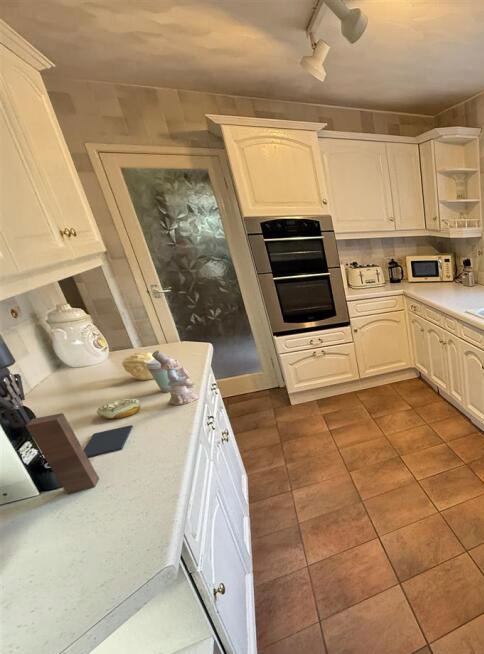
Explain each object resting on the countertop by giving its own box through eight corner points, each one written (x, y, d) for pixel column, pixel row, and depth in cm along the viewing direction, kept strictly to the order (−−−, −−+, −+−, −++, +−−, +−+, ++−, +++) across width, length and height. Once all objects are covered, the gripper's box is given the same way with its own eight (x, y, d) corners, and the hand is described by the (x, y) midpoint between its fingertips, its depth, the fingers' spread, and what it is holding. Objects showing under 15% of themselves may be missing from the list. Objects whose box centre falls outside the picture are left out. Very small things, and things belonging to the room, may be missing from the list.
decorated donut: (110, 423, 127) (105, 413, 125) (94, 417, 131) (88, 407, 129) (148, 409, 135) (144, 399, 134) (131, 404, 139) (127, 394, 138)
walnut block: (95, 486, 97) (57, 419, 89) (66, 494, 94) (25, 425, 87) (99, 478, 100) (62, 412, 92) (72, 485, 97) (32, 418, 90)
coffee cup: (176, 383, 156) (164, 355, 151) (190, 386, 153) (178, 357, 148) (151, 392, 149) (138, 362, 144) (166, 395, 146) (153, 365, 141)
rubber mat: (122, 449, 112) (121, 447, 112) (78, 459, 108) (77, 458, 108) (133, 426, 125) (132, 424, 124) (94, 435, 120) (93, 433, 120)
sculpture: (124, 383, 158) (112, 357, 154) (149, 371, 169) (139, 348, 164) (152, 382, 158) (142, 357, 153) (176, 371, 169) (166, 347, 164)
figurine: (170, 408, 136) (147, 354, 127) (168, 401, 141) (146, 348, 133) (201, 400, 141) (181, 347, 133) (198, 393, 147) (179, 342, 139)
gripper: (-39, 341, 78) (9, 417, 85) (-80, 359, 67) (-21, 445, 74) (16, 334, 81) (58, 408, 88) (-14, 350, 71) (36, 433, 78)
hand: (22, 425), depth 81 cm, fingers closed
